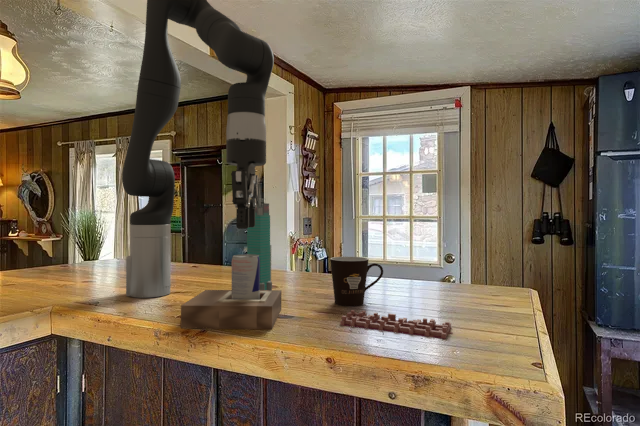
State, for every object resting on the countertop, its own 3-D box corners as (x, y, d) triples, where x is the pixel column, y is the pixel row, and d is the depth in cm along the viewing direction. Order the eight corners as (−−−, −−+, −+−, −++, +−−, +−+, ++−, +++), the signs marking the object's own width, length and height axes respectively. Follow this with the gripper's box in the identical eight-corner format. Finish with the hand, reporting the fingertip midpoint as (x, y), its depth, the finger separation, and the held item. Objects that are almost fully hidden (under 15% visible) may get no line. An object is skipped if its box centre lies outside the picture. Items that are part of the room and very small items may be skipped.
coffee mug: (326, 306, 86) (326, 260, 86) (334, 298, 95) (334, 256, 95) (380, 309, 84) (380, 262, 84) (383, 300, 92) (383, 257, 92)
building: (276, 294, 99) (277, 173, 98) (261, 299, 93) (261, 171, 93) (258, 291, 102) (258, 174, 102) (241, 296, 97) (242, 172, 97)
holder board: (181, 328, 70) (181, 303, 70) (205, 308, 84) (205, 288, 84) (271, 329, 70) (272, 304, 69) (281, 309, 84) (281, 288, 83)
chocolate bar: (449, 342, 64) (449, 330, 64) (340, 328, 72) (340, 317, 72) (454, 330, 71) (454, 319, 71) (354, 318, 79) (354, 308, 79)
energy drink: (264, 315, 79) (264, 254, 78) (252, 322, 73) (252, 257, 73) (239, 313, 80) (239, 254, 80) (226, 320, 75) (226, 256, 75)
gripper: (235, 146, 84) (235, 226, 84) (216, 132, 69) (216, 229, 69) (271, 146, 84) (271, 226, 84) (259, 132, 69) (259, 229, 69)
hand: (246, 227), depth 77 cm, fingers open, 5 cm apart
